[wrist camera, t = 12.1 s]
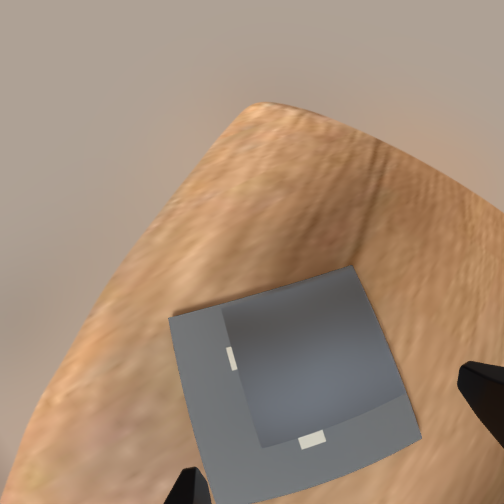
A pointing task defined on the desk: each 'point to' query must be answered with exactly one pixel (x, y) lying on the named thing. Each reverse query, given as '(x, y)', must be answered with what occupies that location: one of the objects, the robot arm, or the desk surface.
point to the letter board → (243, 430)
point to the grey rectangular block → (310, 357)
